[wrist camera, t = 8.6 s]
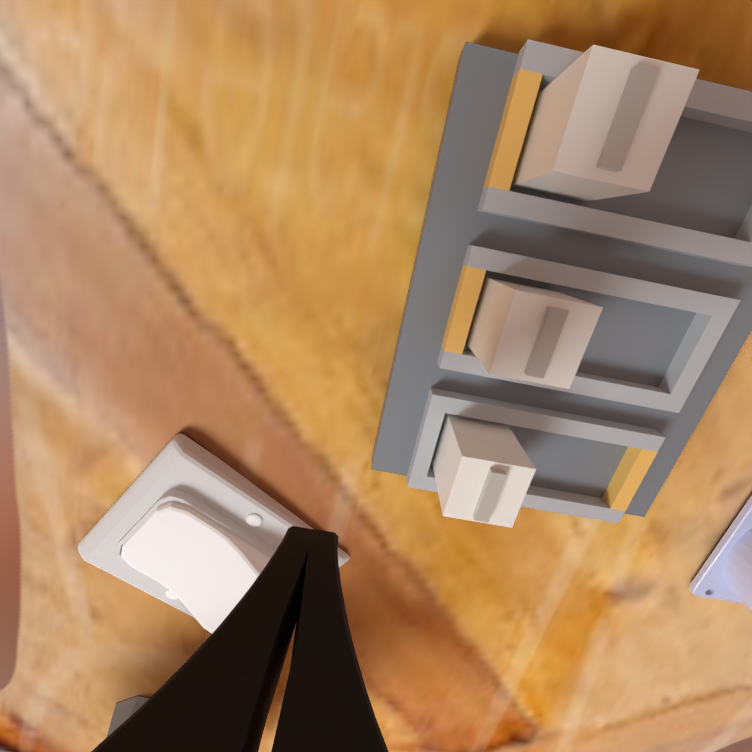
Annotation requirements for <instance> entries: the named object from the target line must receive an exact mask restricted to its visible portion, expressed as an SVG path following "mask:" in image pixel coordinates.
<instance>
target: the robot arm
mask: <svg viewBox="0 0 752 752" xmlns="http://www.w3.org/2000/svg"><path fill="white" fill-rule="evenodd" d="M689 588H690V590H691V591H692V592H693V594H694V595H696V596H701V597H707V598H713V599H719V600H725V601H732V602H738V603H744V604H745V605H746V606H747V607H748V608H749V609H750V610H751V611H752V495H751V497H750V498H749V499H748V501H747V502H746V504H745V505H744V507H743V508H742V510H741V511H740V513H739V514H738V515H737V517H736V518H735V520H734V521H733V523H732V524H731V526H730V527H729V528H728V530H727V531H726V533H725V534H724V536H723V537H722V539H721V540H720V542H719V543H718V544H717V546H716V547H715V549H714V550H713V552H712V553H711V555H710V556H709V558H708V559H707V560H706V562H705V563H704V565H703V566H702V568H701V569H700V571H699V572H698V574H697V575H696V576H695V578H694V579H693V581H692V582H691V584H690V586H689ZM296 621H297V622H296ZM295 624H296V629H295V637H294V644H293V651H292V659H291V666H290V672H289V677H288V681H287V686H286V690H285V695H284V699H283V703H282V708H281V712H280V717H279V721H278V726H277V730H276V734H275V739H274V743H273V747H272V752H388V749H387V747H386V744H385V742H384V739H383V736H382V734H381V731H380V728H379V726H378V723H377V720H376V718H375V715H374V712H373V709H372V706H371V703H370V700H369V697H368V694H367V691H366V688H365V684H364V681H363V678H362V674H361V671H360V668H359V664H358V661H357V657H356V653H355V649H354V646H353V642H352V637H351V633H350V629H349V625H348V620H347V615H346V611H345V605H344V599H343V594H342V588H341V581H340V573H339V564H338V536H337V535H336V533H333V532H327V531H321V530H315V529H309V528H303V527H297V526H292V527H290V528H288V530H287V532H286V534H285V536H284V538H283V540H282V541H281V543H280V545H279V546H278V548H277V550H276V551H275V553H274V554H273V556H272V557H271V559H270V560H269V562H268V563H267V565H266V566H265V568H264V569H263V571H262V572H261V573H260V575H259V576H258V577H257V579H256V580H255V582H254V583H253V584H252V586H251V587H250V588H249V590H248V591H247V592H246V594H245V595H244V596H243V597H242V599H241V600H240V601H239V602H238V603H237V605H236V606H235V607H234V608H233V610H232V611H231V612H230V613H229V615H228V616H227V617H226V618H225V619H224V621H223V622H222V623H221V624H220V625H219V626H218V628H217V629H216V630H215V631H214V632H213V633H212V634H211V636H210V637H209V638H208V639H207V640H206V641H205V642H204V643H203V644H202V646H201V647H200V648H199V649H198V650H197V651H196V652H195V653H194V654H193V655H192V656H191V657H190V658H189V660H188V661H187V662H186V663H185V664H184V665H183V666H182V667H181V668H180V669H179V670H178V671H177V672H176V673H175V674H174V675H173V676H172V677H171V678H170V679H169V680H168V681H167V682H166V683H165V684H164V685H163V686H162V687H161V688H160V689H159V690H158V691H157V692H156V693H155V694H154V695H153V696H152V697H151V698H150V699H149V700H148V701H146V702H145V703H144V704H143V705H142V706H141V707H140V708H139V709H138V710H137V711H136V712H135V713H134V714H132V715H131V716H130V717H129V718H128V719H127V720H126V721H125V722H124V723H123V724H121V725H120V726H119V727H118V728H117V729H116V730H115V731H114V732H113V733H111V734H110V735H109V736H108V737H107V738H106V739H105V740H104V741H103V742H102V743H100V744H99V745H98V746H97V747H96V748H95V749H94V750H93V751H92V752H258V750H259V746H260V742H261V738H262V734H263V730H264V727H265V723H266V719H267V716H268V713H269V709H270V706H271V703H272V700H273V696H274V693H275V690H276V686H277V683H278V680H279V677H280V673H281V670H282V667H283V664H284V660H285V657H286V654H287V651H288V647H289V644H290V641H291V638H292V634H293V631H294V628H295Z"/></svg>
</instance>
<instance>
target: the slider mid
mask: <svg viewBox="0 0 752 752" xmlns="http://www.w3.org/2000/svg"><path fill="white" fill-rule="evenodd" d="M602 309H603V307H600V306H597V305H594V304H592V303H589V302H586V301H583V300H580V299H577V298H574V297H571V296H568V295H565V294H562V293H560V292H557V291H553V290H548V289H543V288H538V287H533V286H528V285H523V284H518V283H513V282H508V281H503V280H498V279H493V278H488V277H487V279H486V282H485V285H484V289H483V292H482V296H481V299H480V303H479V306H478V310H477V313H476V316H475V320H474V323H473V327H472V330H471V334H470V337H469V340H468V344H467V345H468V346H469V348H470V349H471V350H472V352H473V353H474V355H475V356H476V357H477V359H478V360H479V361H480V363H481V364H482V365H483V367H484V368H485V370H486V371H487V372H488V374H492V375H497V376H502V377H508V378H513V379H518V380H523V381H529V382H534V383H539V384H545V385H550V386H555V387H561V388H566V389H570V386H571V384H572V381H573V379H574V377H575V374H576V372H577V369H578V367H579V365H580V362H581V360H582V357H583V355H584V353H585V350H586V348H587V345H588V343H589V340H590V338H591V336H592V333H593V331H594V328H595V326H596V324H597V321H598V319H599V316H600V314H601V311H602Z"/></svg>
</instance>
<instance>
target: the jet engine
mask: <svg viewBox="0 0 752 752" xmlns="http://www.w3.org/2000/svg"><path fill="white" fill-rule="evenodd" d="M149 699H150V698H145V697H140V696H136V697H133V698H130V699H127V700H124V701H121V702H118V703H116V706H115V709H114V713H113V717H112V720H111V724H110V727H109V731H108V735H107V737H108V736H109V735H110V734H111V733H113V732H114V731H115V730H116V729H117V728H118V727H119V726H120V725H121V724H123V723H124V722H125V721H126V720H127V719H128V718H129V717H130V716H131V715H132V714H134V713H135V712H136V711H137V710H138V709H139V708H140V707H141V706H142V705H143V704H144V703H145V702H146V701H148V700H149Z"/></svg>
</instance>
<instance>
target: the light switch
mask: <svg viewBox="0 0 752 752" xmlns="http://www.w3.org/2000/svg"><path fill="white" fill-rule="evenodd" d="M292 526H297V527H303V528H309V529H313V528H312V527H311V526H309V525H308V524H306V523H305V522H304V521H302V520H301V519H300V518H298V517H297V516H296V515H294V514H293V513H292V512H290V511H289V510H288V509H286V508H285V507H284V506H282V505H281V504H280V503H278V502H277V501H276V500H274V499H273V498H271V497H270V496H269V495H267V494H266V493H265V492H263V491H262V490H261V489H259V488H258V487H257V486H255V485H254V484H253V483H251V482H250V481H249V480H247V479H246V478H245V477H243V476H242V475H241V474H239V473H238V472H236V471H235V470H234V469H232V468H231V467H230V466H228V465H227V464H226V463H224V462H223V461H222V460H220V459H219V458H218V457H216V456H215V455H213V454H212V453H210V452H209V451H207V450H206V449H204V448H203V447H201V446H200V445H199V444H197V443H196V442H194V441H193V440H191V439H190V438H188V437H187V436H185V435H184V434H180V433H179V434H177V435H176V436H175V437H174V438H173V439H172V440H171V441H170V442H169V443H168V445H167V446H166V447H165V448H164V449H163V450H162V451H161V452H160V453H159V455H158V456H157V457H156V458H155V459H154V460H153V461H152V462H151V464H150V465H149V466H148V467H147V468H146V469H145V470H144V471H143V472H142V474H141V475H140V476H139V477H138V478H137V479H136V480H135V481H134V483H133V484H132V485H131V486H130V487H129V488H128V489H127V490H126V491H125V493H124V494H123V495H122V496H121V497H120V498H119V499H118V500H117V502H116V503H115V504H114V505H113V506H112V507H111V508H110V509H109V510H108V512H107V513H106V514H105V515H104V516H103V517H102V518H101V519H100V520H99V522H98V523H97V524H96V525H95V526H94V527H93V528H92V529H91V531H90V532H89V533H88V534H87V535H86V536H85V537H84V538H83V540H82V541H81V542H80V543H79V546H78V550H79V553H80V554H81V556H82V558H83V559H84V560H85V561H87V562H89V563H90V564H92V565H94V566H96V567H98V568H100V569H102V570H104V571H106V572H108V573H110V574H112V575H113V576H115V577H117V578H119V579H121V580H123V581H125V582H127V583H129V584H131V585H133V586H135V587H136V588H138V589H140V590H142V591H144V592H146V593H148V594H150V595H152V596H154V597H156V598H157V599H159V600H161V601H163V602H165V603H167V604H169V605H171V606H173V607H175V608H177V609H179V610H180V611H182V612H184V613H186V614H188V615H190V616H192V617H194V618H196V620H197V621H198V622H199V623H200V624H201V626H202V627H203V628H204V629H206V630H207V631H209V632H210V633H213V632H214V631H215V630H216V629H217V628H218V626H219V625H220V624H221V623H222V622H223V621H224V619H225V618H226V617H227V616H228V615H229V613H230V612H231V611H232V610H233V608H234V607H235V606H236V605H237V603H238V602H239V601H240V600H241V599H242V597H243V596H244V595H245V594H246V592H247V591H248V590H249V588H250V587H251V586H252V584H253V583H254V582H255V580H256V579H257V577H258V576H259V575H260V573H261V572H262V571H263V569H264V568H265V566H266V565H267V563H268V562H269V560H270V559H271V557H272V556H273V554H274V553H275V551H276V550H277V548H278V546H279V545H280V543H281V541H282V540H283V538H284V536H285V534H286V532H287V530H288V528H290V527H292ZM349 559H350V557H349V555H348V554H347V553H346V552H344V551H343V550H341V549H340V548H339V547H338V564H339V567H340V566H342V565H343V564H344V563H346V562H347V561H348V560H349Z"/></svg>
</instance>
